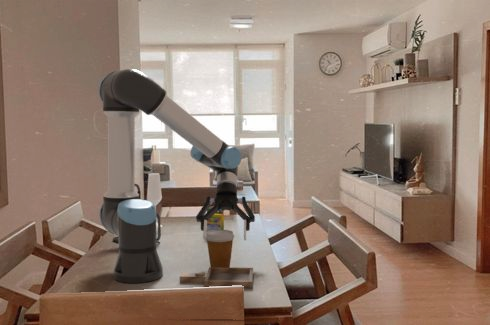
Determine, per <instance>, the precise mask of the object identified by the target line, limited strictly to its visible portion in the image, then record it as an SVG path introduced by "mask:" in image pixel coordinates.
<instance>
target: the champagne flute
mask: <svg viewBox="0 0 490 325" xmlns="http://www.w3.org/2000/svg"><path fill="white" fill-rule="evenodd" d="M162 199H163V195H162V185H161V175H160V173H159V172H158V173H157V172H156V173H155V172H152V173H151V172H150V173H148V179H147V192H146V200H147V201H150V202H152V203H153V204H154V205H155V208H156V209H157V205H158V204H159V203H161V201H162ZM162 227H163V225H162V224H161V228H162ZM156 229H158V221H156Z"/></svg>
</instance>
